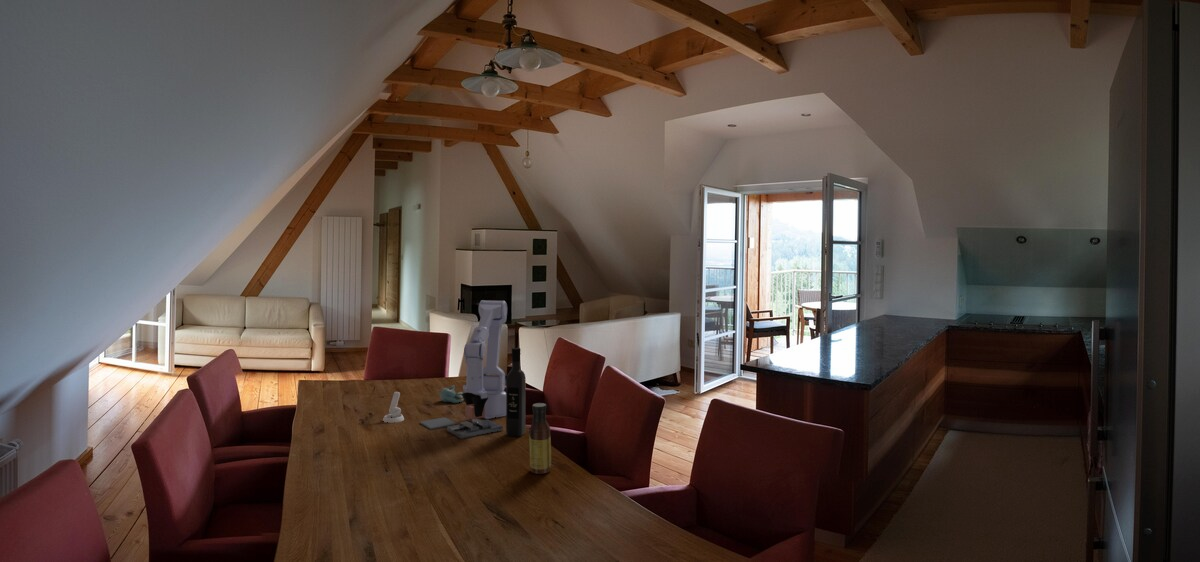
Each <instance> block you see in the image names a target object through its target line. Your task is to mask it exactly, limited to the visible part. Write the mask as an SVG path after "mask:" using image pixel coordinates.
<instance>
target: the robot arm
mask: <svg viewBox="0 0 1200 562" xmlns="http://www.w3.org/2000/svg"><path fill="white" fill-rule="evenodd" d="M478 314H479V317H480V318H479V319H480V320H479V322H478V326H477V327H475V328H474V329H473V332H472V333H471V336H470V339H469V341H468V342H467V343H465V345H464V346H463V347H464V349H463V355H464V363H465V364H466V384H463V385H462V392H463V394H462V396H463V399H464V400H463V401H464V402H465V405H468V404H474V410H475V416H476V417H480V416H482V413H483V409H484V406H485V417H483V419H485V420H487V419H488V420H490V419H494V418H495V417H496V418H501V417H506V391H505V390H506V373H505V371H504V370H503V369H502V368H501V367H499V364H500V363H499V361H500V352H501V351H500V348H501V338H502V337H501V334H502V328H503V327H502V326H503V324H504V323H506V322H507V318H508V317H507V316H508V304H507V302H506V301H505V300H484V299H482V300H480V302H479V304H478ZM485 357H486V359H485V366H484V358H485Z"/></svg>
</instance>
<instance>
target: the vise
mask: <svg viewBox="0 0 1200 562" xmlns="http://www.w3.org/2000/svg"><path fill="white" fill-rule="evenodd" d="M458 423H459V424H457V425H454V426H448V427H446V431H447V432H448V433H449V434H452V435H454V437H455V436H456V437H457V438H459V439H461V440H462V439H467V438H472V437H476V436H477V435H478V436H481V435H482V434H483V435H487V433H488V434H492V433H491V432H493V433H498V432H501V431H502V430H504V426H502V425H500V423H497V422H494V421H493V420H490V419H480V418H477V419H470V422H469V421H461V422H458ZM497 431H498V432H497ZM483 435H482V436H483Z"/></svg>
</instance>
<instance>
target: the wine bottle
mask: <svg viewBox="0 0 1200 562" xmlns="http://www.w3.org/2000/svg"><path fill="white" fill-rule="evenodd" d="M505 393H506V416H505V418H506V420H505V423H506V424H505V433H506V434H505V435H506V436H507V437H517V436H518V437H519V436H520V437H522V436H523V435H524V434H525V433H526V374H525V372H524V371H523V370H522V369H521V348H520V347H512V348H511V369H510V370H509V372H508V373H507V375H506V378H505ZM518 437H517V438H518ZM520 437H519V438H520Z"/></svg>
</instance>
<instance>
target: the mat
mask: <svg viewBox="0 0 1200 562" xmlns="http://www.w3.org/2000/svg"><path fill="white" fill-rule="evenodd" d="M419 424H421V425H422V426H424V427H425V428H427V429H428V430H430V431H432V430H438V429H443V428H447V427H448V426H454V425H458V423H457V422H456V421H453V420H451V419H450V418H447V417H446V416H445V417H439V418H433V419H428V420H422V421H421V420H420V421H419Z"/></svg>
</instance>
